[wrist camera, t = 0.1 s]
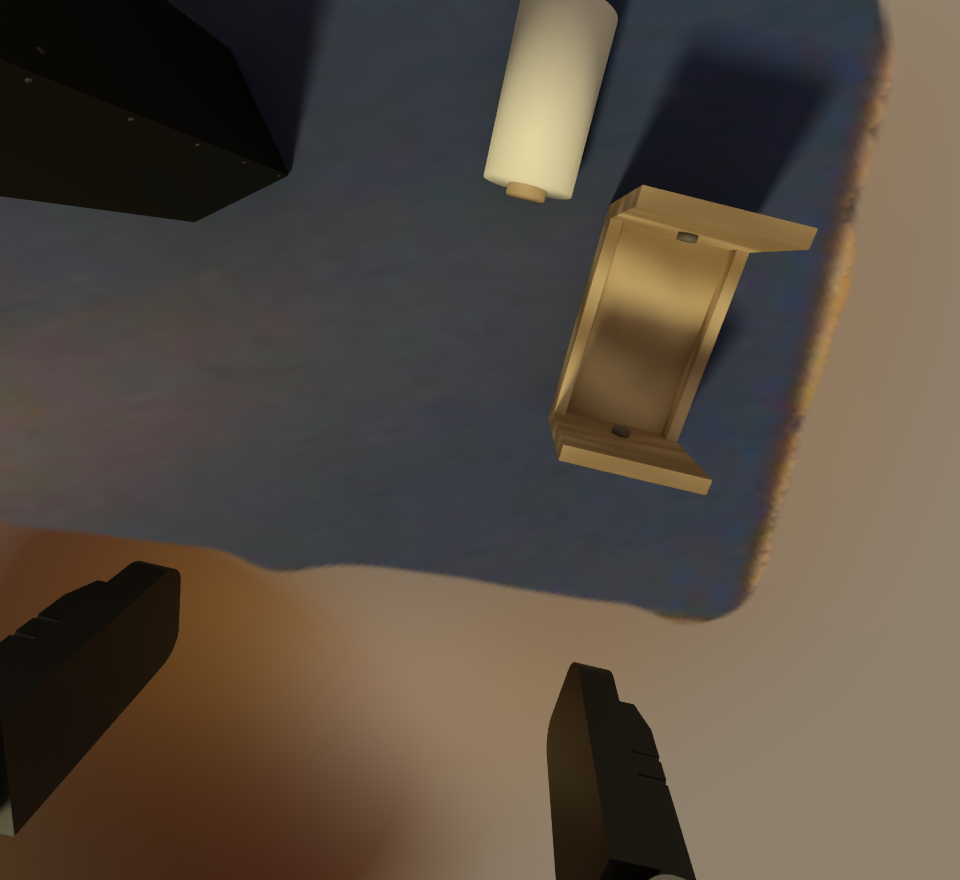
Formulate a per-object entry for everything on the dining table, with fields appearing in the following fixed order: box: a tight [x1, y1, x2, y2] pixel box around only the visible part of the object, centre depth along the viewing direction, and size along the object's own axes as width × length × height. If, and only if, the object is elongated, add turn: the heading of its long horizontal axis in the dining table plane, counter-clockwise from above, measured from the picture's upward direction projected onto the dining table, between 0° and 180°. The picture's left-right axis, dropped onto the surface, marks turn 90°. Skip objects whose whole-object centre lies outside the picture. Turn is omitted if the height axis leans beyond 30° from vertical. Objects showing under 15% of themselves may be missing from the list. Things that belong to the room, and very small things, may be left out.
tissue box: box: [0, 0, 288, 222], centre depth 21 cm, size 8×8×28 cm
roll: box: [484, 0, 618, 203], centre depth 30 cm, size 10×6×6 cm, turn 167°
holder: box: [548, 185, 818, 495], centre depth 32 cm, size 15×9×9 cm, turn 167°
